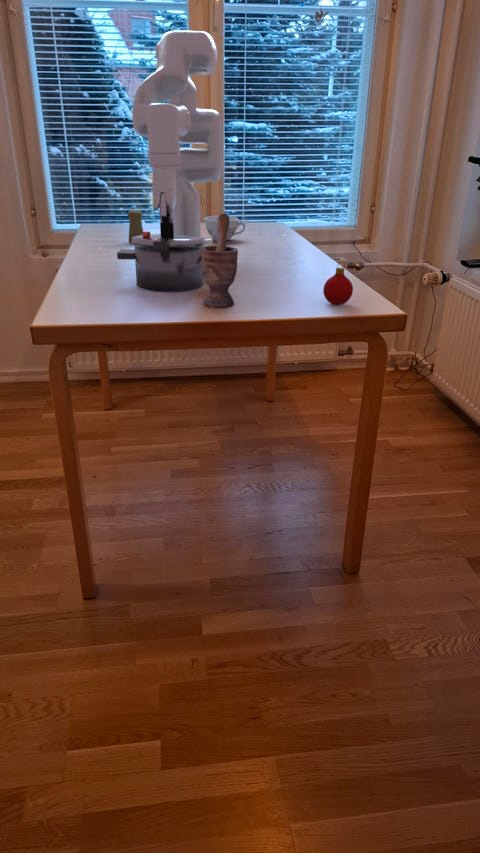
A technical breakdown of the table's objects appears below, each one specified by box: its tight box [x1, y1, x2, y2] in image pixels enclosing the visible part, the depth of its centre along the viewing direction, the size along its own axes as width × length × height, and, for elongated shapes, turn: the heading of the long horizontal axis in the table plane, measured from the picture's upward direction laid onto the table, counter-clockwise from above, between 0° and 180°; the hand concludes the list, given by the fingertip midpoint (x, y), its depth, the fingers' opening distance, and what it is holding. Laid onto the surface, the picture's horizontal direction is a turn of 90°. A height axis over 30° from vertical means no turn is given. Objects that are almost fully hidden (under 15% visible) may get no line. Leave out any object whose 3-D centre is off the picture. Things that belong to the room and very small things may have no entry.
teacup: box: [204, 215, 246, 241], centre depth 215 cm, size 15×12×8 cm
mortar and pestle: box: [201, 213, 239, 309], centre depth 137 cm, size 12×9×20 cm
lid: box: [131, 231, 206, 250], centre depth 149 cm, size 24×19×3 cm
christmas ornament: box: [323, 262, 354, 306], centre depth 140 cm, size 7×7×10 cm
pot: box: [116, 244, 204, 293], centre depth 156 cm, size 20×27×10 cm
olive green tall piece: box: [127, 209, 144, 244], centre depth 207 cm, size 6×6×11 cm
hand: (167, 238), depth 150 cm, fingers closed
